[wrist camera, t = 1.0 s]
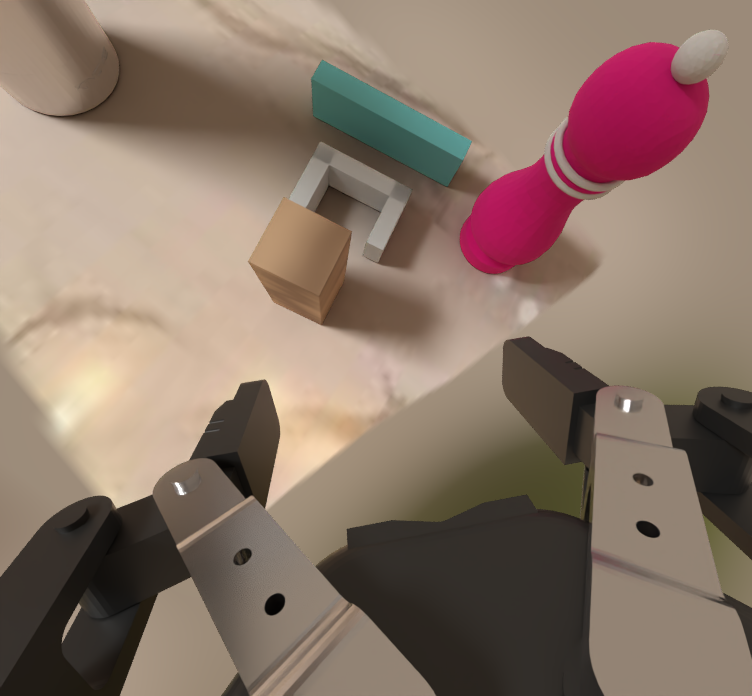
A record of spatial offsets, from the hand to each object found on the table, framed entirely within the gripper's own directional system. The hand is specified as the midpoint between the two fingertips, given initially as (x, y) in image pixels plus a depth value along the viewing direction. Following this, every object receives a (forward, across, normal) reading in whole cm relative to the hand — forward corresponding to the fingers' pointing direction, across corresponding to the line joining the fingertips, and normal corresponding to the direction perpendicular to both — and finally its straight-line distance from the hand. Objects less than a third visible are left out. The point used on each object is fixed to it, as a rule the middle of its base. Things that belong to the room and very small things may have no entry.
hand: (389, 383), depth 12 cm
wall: (+28, -5, -10) cm, 30 cm away
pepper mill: (+23, -13, 0) cm, 27 cm away
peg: (+20, +4, +2) cm, 21 cm away
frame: (+24, 0, -4) cm, 24 cm away
